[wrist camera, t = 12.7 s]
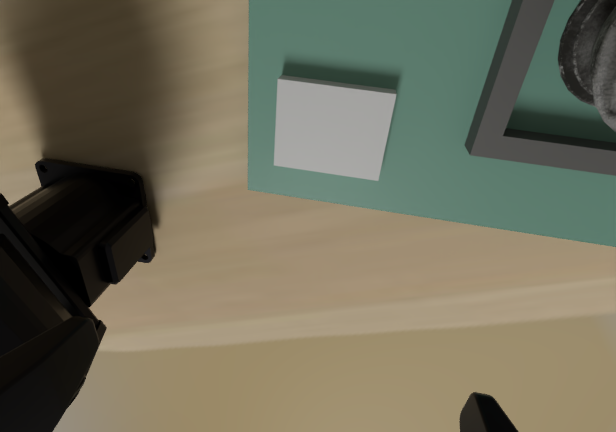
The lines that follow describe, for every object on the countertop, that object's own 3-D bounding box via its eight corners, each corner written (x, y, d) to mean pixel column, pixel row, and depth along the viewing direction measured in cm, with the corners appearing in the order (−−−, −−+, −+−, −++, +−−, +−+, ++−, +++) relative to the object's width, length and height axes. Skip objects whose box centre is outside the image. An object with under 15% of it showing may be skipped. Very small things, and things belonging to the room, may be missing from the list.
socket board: (255, 177, 21) (240, 200, 19) (263, -250, 13) (238, -301, 10) (631, 234, 20) (665, 267, 17) (930, -212, 11) (1073, -263, 9)
